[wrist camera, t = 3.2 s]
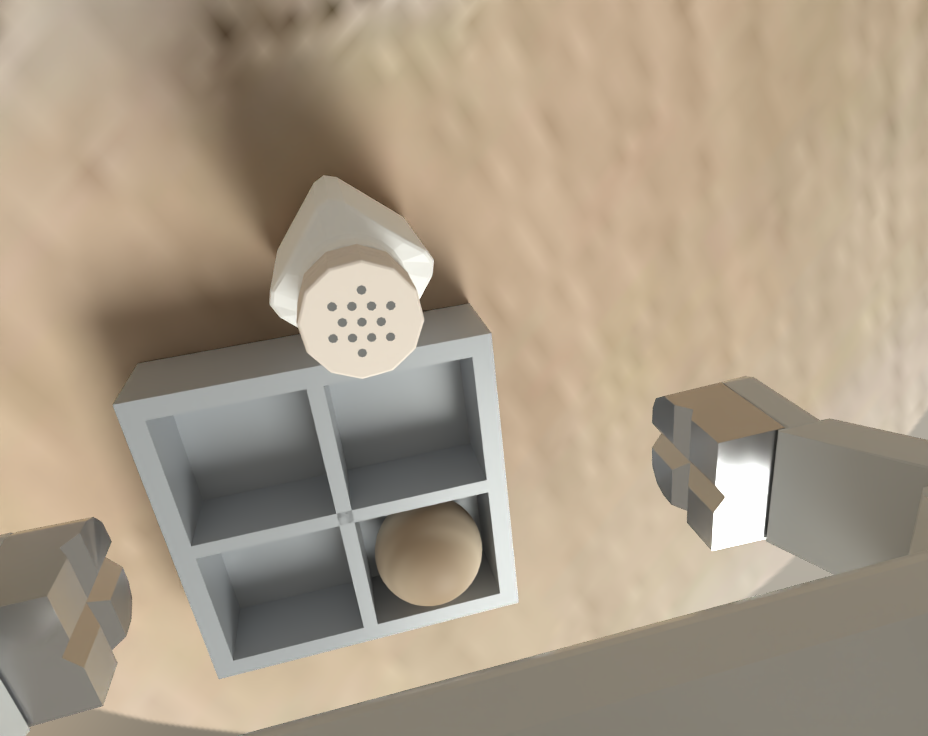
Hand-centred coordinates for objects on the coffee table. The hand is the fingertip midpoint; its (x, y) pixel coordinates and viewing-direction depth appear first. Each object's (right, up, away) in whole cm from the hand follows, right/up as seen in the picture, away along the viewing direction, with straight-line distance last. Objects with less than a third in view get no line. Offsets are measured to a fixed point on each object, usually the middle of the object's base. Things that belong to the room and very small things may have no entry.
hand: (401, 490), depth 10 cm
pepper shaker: (-4, +7, +15) cm, 17 cm away
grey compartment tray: (-5, -3, +19) cm, 20 cm away
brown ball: (-1, -5, +20) cm, 21 cm away
